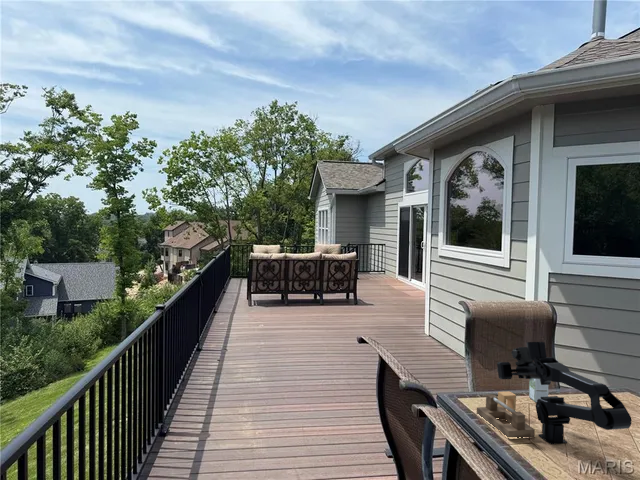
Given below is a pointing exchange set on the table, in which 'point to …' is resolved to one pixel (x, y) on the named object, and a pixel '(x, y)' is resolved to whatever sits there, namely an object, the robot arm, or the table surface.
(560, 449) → the table surface
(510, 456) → the table surface
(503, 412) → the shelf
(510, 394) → the clip
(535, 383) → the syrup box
